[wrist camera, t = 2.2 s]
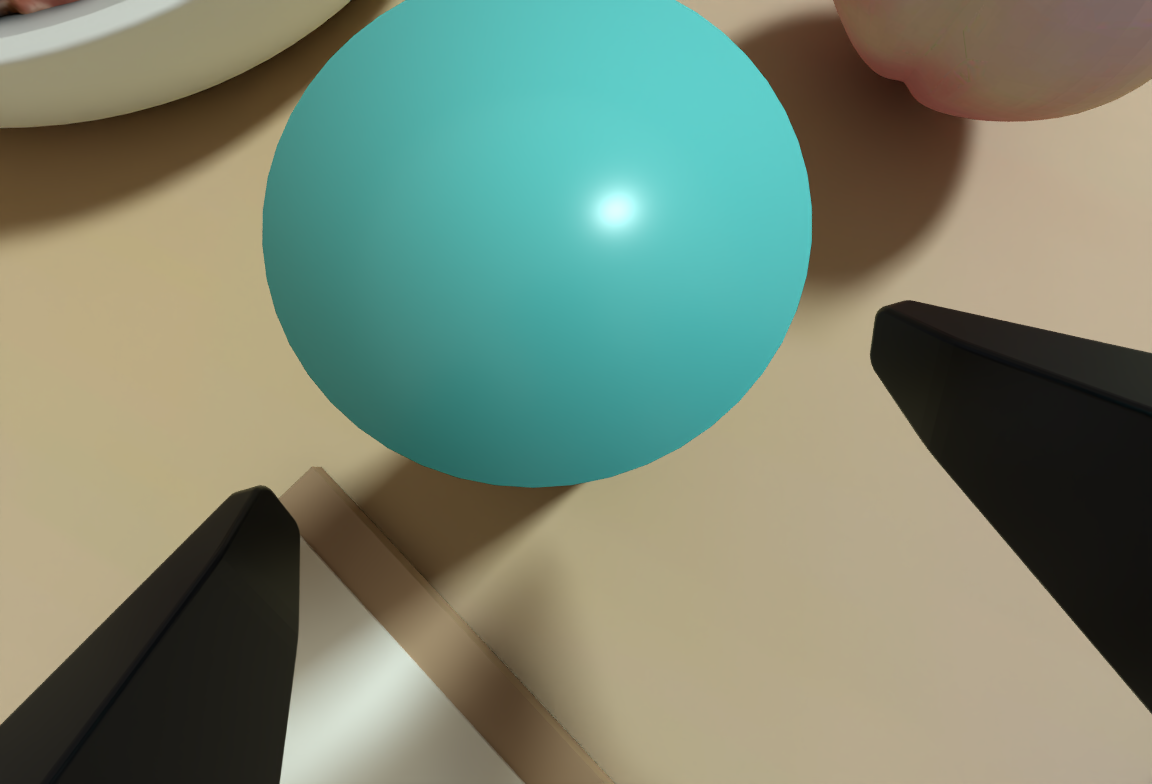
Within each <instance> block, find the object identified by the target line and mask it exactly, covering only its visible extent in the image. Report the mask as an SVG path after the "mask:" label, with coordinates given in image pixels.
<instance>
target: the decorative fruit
mask: <svg viewBox="0 0 1152 784" xmlns="http://www.w3.org/2000/svg"><path fill="white" fill-rule="evenodd" d="M833 1H834V4H835V6H836V9H837V12H838V14H839V17H840V19H841V22H842V24H843V26H844V29H845V31H846V33H847V35H848V37H849V39H850V41H851V43H852V45H853V46H854V48H855V50H856V51H857V53H858V54H859V56H860V57H861V58H862V59H863V61H864V62H865V63H866V64H867V65H868V66H869V67H870V68H871V69H872V70H873V71H874V72H875V73H877V74H878V75H880V76H882V77H885V78H888V79H893V80H899V81H902V82H904V83H905V85H906V86H907V87H908V89H909V91H910V93H911V94H912V96H913V97H914V98H915V99H916V100H917V101H918V102H919V103H921V104H922V105H924V106H926V107H928V108H930V109H932V110H935V111H938V112H941V113H944V114H948V115H952V116H957V117H963V118H969V119H976V120H985V121H1008V122H1010V121H1034V120H1044V119H1052V118H1059V117H1064V116H1068V115H1073V114H1078V113H1081V112H1084V111H1087V110H1090V109H1093V108H1096V107H1099V106H1101V105H1104V104H1106V103H1109V102H1111V101H1114V100H1116V99H1118V98H1120V97H1122V96H1124V95H1126V94H1128V93H1129V92H1131V91H1133V90H1135V89H1137V88H1138V87H1140V86H1142V85H1143V84H1145V83H1146V82H1148V81H1149V80H1151V79H1152V0H833Z"/></svg>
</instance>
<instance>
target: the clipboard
mask: <svg viewBox="0 0 1152 784" xmlns="http://www.w3.org/2000/svg"><path fill="white" fill-rule="evenodd" d="M279 500H280V502H281V503H282V504H283V505H284V507H285V508H286V509H287V510H288V512H289V513H290V514H291V515H292V517H293V518H294V519H295V521H296V523H297V525H298V528H299V531H300V601H299V635H298V645H297V654H296V662H295V670H294V677H293V685H292V693H291V700H290V708H289V716H288V724H287V731H286V739H285V747H284V755H283V762H282V770H281V778H280V784H615V783H614V782H613V781H612V780H611V779H610V778H609V777H608V776H607V775H606V774H605V772H604V771H603V770H602V769H601V768H600V767H599V766H598V765H597V764H596V763H595V762H594V761H593V759H592V758H591V757H590V756H589V755H588V754H587V753H586V752H585V751H584V750H583V749H582V748H581V747H580V745H579V744H578V743H577V742H576V741H575V740H574V739H573V738H572V737H571V736H570V735H569V734H568V733H567V731H566V730H565V729H564V728H563V727H562V726H561V725H560V724H559V723H558V722H557V721H556V720H555V719H554V717H553V716H552V715H551V714H550V713H549V712H548V711H547V710H546V709H545V708H544V707H543V706H542V705H541V703H540V702H539V701H538V700H537V699H536V698H535V697H534V696H533V695H532V694H531V693H530V692H529V690H528V689H527V688H526V687H525V686H524V685H523V684H522V683H521V682H520V681H519V680H518V679H517V678H516V676H515V675H514V674H513V673H512V672H511V671H510V670H509V669H508V668H507V667H506V666H505V665H504V664H503V662H502V661H501V660H500V659H499V658H498V657H497V656H496V655H495V654H494V653H493V652H492V651H491V650H490V648H489V647H488V646H487V645H486V644H485V643H484V642H483V641H482V640H481V639H480V638H479V637H478V636H477V634H476V633H475V632H474V631H473V630H472V629H471V628H470V627H469V626H468V625H467V624H466V623H465V621H464V620H463V619H462V618H461V617H460V616H459V615H458V614H457V613H456V612H455V611H454V610H453V609H452V607H451V606H450V605H449V604H448V603H447V602H446V601H445V600H444V599H443V598H442V597H441V596H440V595H439V593H438V592H437V591H436V590H435V589H434V588H433V587H432V586H431V585H430V584H429V583H428V582H427V581H426V579H425V578H424V577H423V576H422V575H421V574H420V573H419V572H418V571H417V570H416V569H415V568H414V566H413V565H412V564H411V563H410V562H409V561H408V560H407V559H406V558H405V557H404V556H403V555H402V554H401V552H400V551H399V550H398V549H397V548H396V547H395V546H394V545H393V544H392V543H391V542H390V541H389V540H388V538H387V537H386V536H385V535H384V534H383V533H382V532H381V531H380V530H379V529H378V528H377V527H376V526H375V524H374V523H373V522H372V521H371V520H370V519H369V518H368V517H367V516H366V515H365V514H364V513H363V512H362V510H361V509H360V508H359V507H358V506H357V505H356V504H355V503H354V502H353V501H352V500H351V499H350V497H349V496H348V495H347V494H346V493H345V492H344V491H343V490H342V489H341V488H340V487H339V486H338V485H337V483H336V482H335V481H334V480H333V479H332V478H331V477H330V476H329V475H328V474H327V473H326V472H325V471H324V469H323V468H322V467H311V468H310V469H309V470H308V471H307V472H306V473H305V474H304V475H303V476H302V477H301V478H300V479H299V480H298V481H297V482H295V483H294V484H293V485H292V486H291V487H290V488H289V489H288V490H287V491H286V492H285V493H284V494H283V495H282V496H281V497H280V498H279Z"/></svg>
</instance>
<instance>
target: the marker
mask: <svg viewBox="0 0 1152 784" xmlns="http://www.w3.org/2000/svg"><path fill="white" fill-rule="evenodd" d="M811 243H812V205H811V197H810V190H809V182H808V175H807V171H806V167H805V163H804V160H803V156H802V153H801V149H800V146H799V142H798V139H797V137H796V135H795V132H794V130H793V128H792V125H791V123H790V121H789V118H788V116H787V114H786V112H785V110H784V108H783V106H782V105H781V103H780V101H779V100H778V98H777V96H776V95H775V93H774V91H773V90H772V88H771V86H770V85H769V83H768V81H767V80H766V79H765V78H764V76H763V75H762V74H761V73H760V71H759V70H758V69H757V68H756V66H755V65H754V64H753V63H752V61H751V60H750V59H749V58H748V56H747V55H746V54H745V53H744V52H743V51H742V50H741V49H740V48H739V47H738V46H737V45H735V44H734V43H733V42H732V41H731V40H730V39H729V38H728V37H727V36H726V35H725V34H724V33H723V32H722V31H720V30H719V29H718V28H716V27H715V26H714V25H712V24H711V23H710V22H708V21H707V20H706V19H704V18H703V17H702V16H700V15H699V14H698V13H696V12H695V11H693V10H691V9H689V8H688V7H686V6H684V5H683V4H681V3H679V2H677V1H676V0H405V1H404V2H402V3H400V4H399V5H397V6H395V7H394V8H392V9H390V10H389V11H387V12H385V13H384V14H382V15H380V16H379V17H377V18H376V19H375V20H374V21H372V22H371V23H370V24H368V25H367V26H366V27H364V28H363V29H362V30H360V31H359V32H358V33H357V34H355V35H354V36H353V37H352V38H351V39H350V40H349V41H348V42H347V43H346V44H345V45H344V46H343V47H341V48H340V49H339V50H338V51H337V52H336V53H335V54H334V55H333V56H332V57H331V58H330V59H329V60H328V62H327V63H326V64H325V65H324V67H323V68H322V69H321V70H320V72H319V73H318V74H317V75H316V77H315V78H314V79H313V81H312V82H311V83H310V84H309V86H308V87H307V89H306V90H305V92H304V94H303V95H302V97H301V99H300V100H299V102H298V104H297V105H296V107H295V109H294V110H293V112H292V113H291V115H290V118H289V120H288V122H287V124H286V127H285V129H284V131H283V133H282V136H281V138H280V140H279V143H278V145H277V148H276V151H275V155H274V158H273V162H272V165H271V169H270V172H269V175H268V180H267V187H266V193H265V200H264V207H263V240H262V245H263V253H264V261H265V269H266V277H267V282H268V285H269V289H270V293H271V296H272V300H273V304H274V307H275V311H276V314H277V316H278V318H279V321H280V323H281V325H282V328H283V330H284V332H285V335H286V337H287V339H288V342H289V344H290V346H291V347H292V349H293V351H294V352H295V354H296V356H297V357H298V359H299V361H300V362H301V364H302V365H303V367H304V369H305V370H306V372H307V374H308V375H309V376H310V378H311V379H312V380H313V381H314V382H315V384H316V385H317V386H318V387H319V389H320V390H321V391H322V392H323V393H324V395H325V396H326V397H327V398H328V399H329V401H330V402H331V403H332V404H333V405H334V406H335V407H336V408H338V409H339V410H340V411H341V412H342V413H343V414H344V415H345V416H346V417H347V418H348V419H349V420H351V421H352V422H353V423H354V424H355V425H356V426H357V427H358V428H360V429H361V430H363V431H364V432H365V433H367V434H368V435H370V436H371V437H373V438H374V439H376V440H377V441H379V442H380V443H381V444H383V445H384V446H386V447H387V448H389V449H391V450H393V451H395V452H397V453H399V454H401V455H403V456H405V457H407V458H408V459H410V460H412V461H414V462H416V463H418V464H420V465H423V466H425V467H428V468H431V469H434V470H437V471H440V472H443V473H446V474H449V475H452V476H454V477H457V478H462V479H467V480H472V481H477V482H482V483H487V484H492V485H500V486H516V487H531V488H536V487H551V486H566V485H575V484H580V483H585V482H590V481H595V480H599V479H604V478H609V477H612V476H615V475H618V474H621V473H624V472H627V471H630V470H633V469H636V468H638V467H641V466H644V465H647V464H649V463H651V462H653V461H655V460H657V459H659V458H661V457H663V456H665V455H667V454H669V453H671V452H673V451H675V450H677V449H679V448H681V447H682V446H683V445H685V444H686V443H688V442H689V441H691V440H692V439H694V438H695V437H697V436H698V435H700V434H701V433H702V432H704V431H705V430H707V429H708V428H710V427H711V426H712V425H713V424H715V423H716V422H717V421H718V420H719V419H720V418H721V417H722V416H723V415H725V414H726V413H727V412H728V411H729V410H730V409H731V408H732V407H733V406H735V405H736V404H737V403H738V402H739V401H740V400H741V399H742V397H743V396H744V395H745V394H746V393H747V391H748V390H749V389H750V388H751V387H752V385H753V384H754V383H755V382H756V381H757V379H758V378H759V377H760V376H761V375H762V374H763V372H764V370H765V369H766V367H767V366H768V364H769V363H770V361H771V359H772V358H773V356H774V355H775V353H776V351H777V350H778V348H779V347H780V345H781V343H782V342H783V339H784V337H785V335H786V333H787V331H788V328H789V326H790V324H791V322H792V319H793V317H794V315H795V313H796V311H797V308H798V304H799V301H800V297H801V294H802V290H803V287H804V284H805V280H806V277H807V271H808V264H809V257H810V250H811Z"/></svg>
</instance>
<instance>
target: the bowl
mask: <svg viewBox="0 0 1152 784" xmlns="http://www.w3.org/2000/svg"><path fill="white" fill-rule="evenodd" d="M350 1H351V0H0V128H26V127H39V126H51V125H64V124H72V123H79V122H86V121H93V120H99V119H104V118H109V117H114V116H119V115H124V114H128V113H132V112H136V111H140V110H143V109H147V108H151V107H155V106H159V105H162V104H165V103H168V102H171V101H174V100H177V99H181V98H184V97H187V96H190V95H192V94H195V93H197V92H200V91H203V90H205V89H208V88H210V87H213V86H215V85H218V84H220V83H222V82H224V81H226V80H229V79H231V78H233V77H235V76H237V75H240V74H242V73H244V72H246V71H248V70H250V69H251V68H253V67H255V66H257V65H259V64H261V63H263V62H265V61H267V60H268V59H270V58H272V57H273V56H275V55H277V54H278V53H280V52H282V51H283V50H285V49H287V48H288V47H290V46H292V45H293V44H295V43H296V42H298V41H299V40H301V39H302V38H303V37H305V36H306V35H308V34H309V33H311V32H312V31H314V30H315V29H317V28H318V27H319V26H320V25H322V24H323V23H324V22H325V21H327V20H328V19H329V18H331V17H332V16H333V15H334V14H336V13H337V12H338V11H339V10H341V9H342V8H343V7H344V6H345V5H346V4H347V3H349V2H350Z"/></svg>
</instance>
